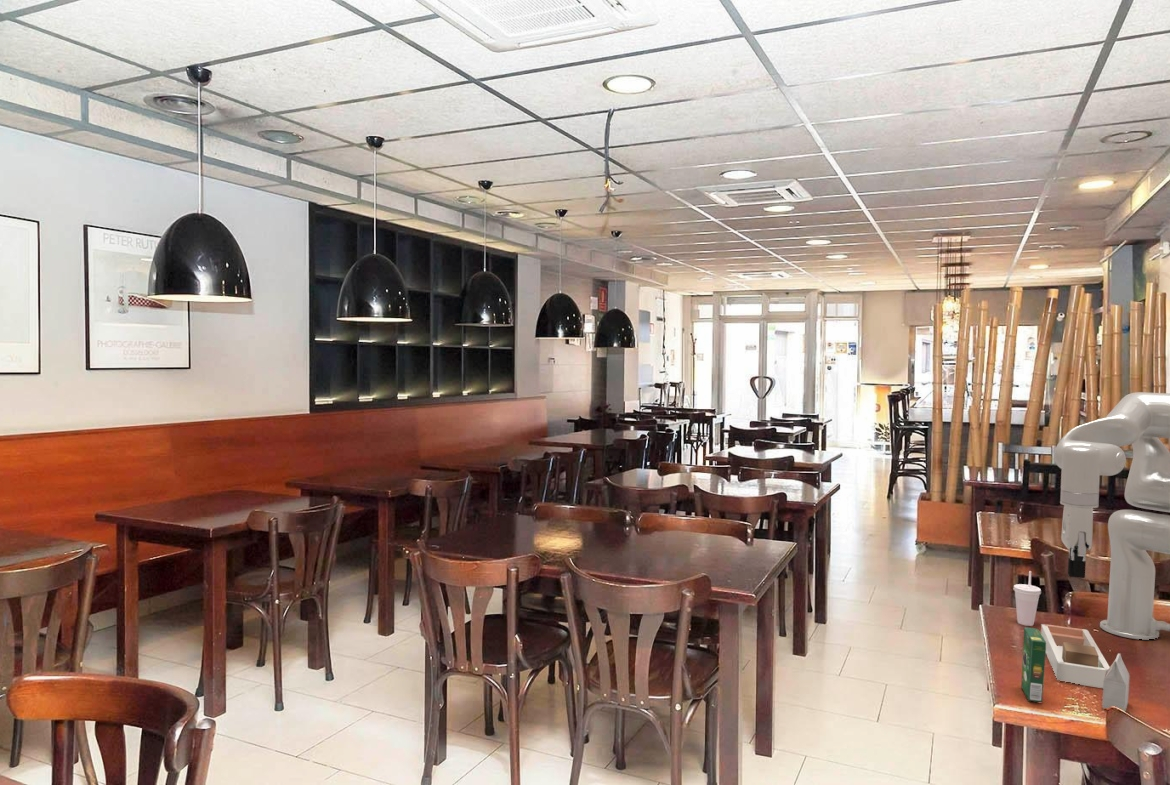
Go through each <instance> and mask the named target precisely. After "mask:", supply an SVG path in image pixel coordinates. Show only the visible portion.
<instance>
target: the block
mask: <svg viewBox="0 0 1170 785" xmlns="http://www.w3.org/2000/svg"><path fill="white" fill-rule="evenodd" d="M1098 657H1099V656H1098V653H1097V651H1096V649H1095V647H1093V646H1086V645H1080V644H1073V643H1067V642H1063V651H1062V659H1063V661H1064V662H1066V663H1073V664H1080V665H1086V666H1093V667H1098Z"/></svg>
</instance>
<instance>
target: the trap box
mask: <svg viewBox="0 0 1170 785" xmlns="http://www.w3.org/2000/svg"><path fill="white" fill-rule="evenodd" d="M1040 633H1041V635H1042V636H1043V638H1044V640H1045V641H1046V653H1045V655H1046V656H1047V659H1048V661H1049V664H1050V667H1051V666H1052V667H1051V669H1052V668H1053V669H1052V671H1054V672H1053V674H1054V673H1055V674H1054V676H1056V677H1055V679H1056V678H1057V679H1056V681H1057V680H1060V681H1065V682H1064V683H1066V682H1071V683H1070V684H1072V683H1075V684H1074V685H1078V684H1080V685H1079V686H1085V687H1093V688H1099V689H1103V684H1104V678H1105V676H1106V673H1107V671H1108V669H1109V668H1110V665H1109V663H1108V662H1107V660H1106V658H1105V656H1104V655H1103V653H1102V651H1101V650H1100V648H1099V646H1098V645H1097V643H1096V642H1095V639H1094V638H1093V637H1092V635H1091V633H1090V631H1089V630H1088V629H1084V628H1083V629H1082V628H1075V627H1069V626H1061V625H1054V624H1053V625H1052V624H1047V623H1041V624H1040ZM1063 642H1067V643H1073V644H1080V645H1086V646H1093V647H1095V649H1096V651H1097V653H1098V656H1099V657H1098V667H1093V666H1086V665H1080V664H1073V663H1066V662H1064V661H1063V659H1062V651H1063ZM1057 645H1058V646H1057ZM1060 681H1059V682H1060Z"/></svg>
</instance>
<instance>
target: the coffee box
mask: <svg viewBox="0 0 1170 785" xmlns="http://www.w3.org/2000/svg"><path fill="white" fill-rule="evenodd" d="M1021 664H1022V666H1021V684H1020V686H1021V688H1022V691H1023V693H1024V695H1025V698H1026V699H1028V700H1027V702H1029V701H1034V702H1033V703H1035V702H1042V703H1043V695H1044V694H1043V693H1044V680H1045V666H1046V641H1045V640H1044V638H1043V636H1042V635H1041V630H1039V628H1034V627H1028V626H1025V627H1024V628H1023V647H1022V663H1021Z"/></svg>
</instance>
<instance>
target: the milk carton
mask: <svg viewBox="0 0 1170 785" xmlns="http://www.w3.org/2000/svg"><path fill="white" fill-rule="evenodd" d="M1109 667H1110V668H1109V669H1108V671H1107V673H1106V676H1105V678H1104V684H1103V688H1102V704H1101V705H1102V706H1101V708H1102V707H1103V708H1109V707H1111V706H1115V707H1118V708H1121V709H1122V710H1124V711H1125V712H1126V710H1127V708H1128V705H1129V692H1130V673H1129V670H1128V669H1127V667H1126V665H1125V663H1124V661H1123V659H1122V655H1121V653H1117V655H1116V658H1115V659H1114V661H1113V662H1112V664H1111V665H1109Z"/></svg>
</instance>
